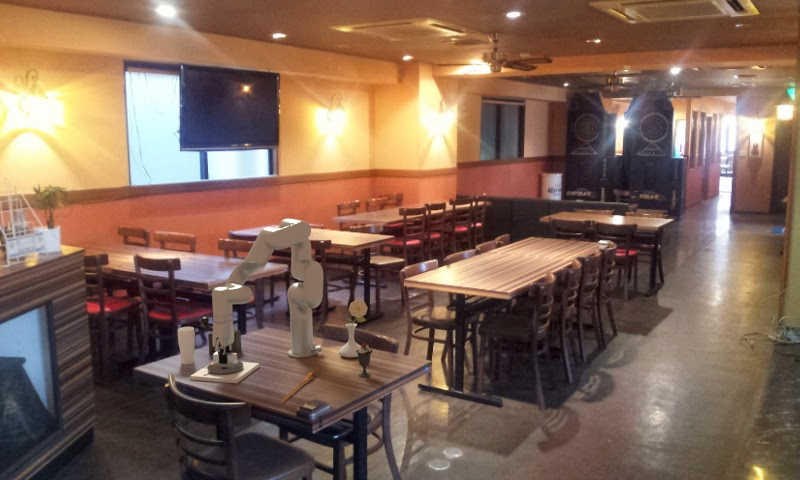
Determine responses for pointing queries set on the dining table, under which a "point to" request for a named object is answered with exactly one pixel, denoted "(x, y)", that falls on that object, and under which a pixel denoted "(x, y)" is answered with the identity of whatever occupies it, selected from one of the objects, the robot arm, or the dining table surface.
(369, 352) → the sundae
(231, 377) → the dial plate
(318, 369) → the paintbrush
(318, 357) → the dining table surface
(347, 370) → the dining table surface
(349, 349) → the flower in vase
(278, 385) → the dining table surface
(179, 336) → the drinking glass
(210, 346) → the coffee grinder
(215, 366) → the dial
